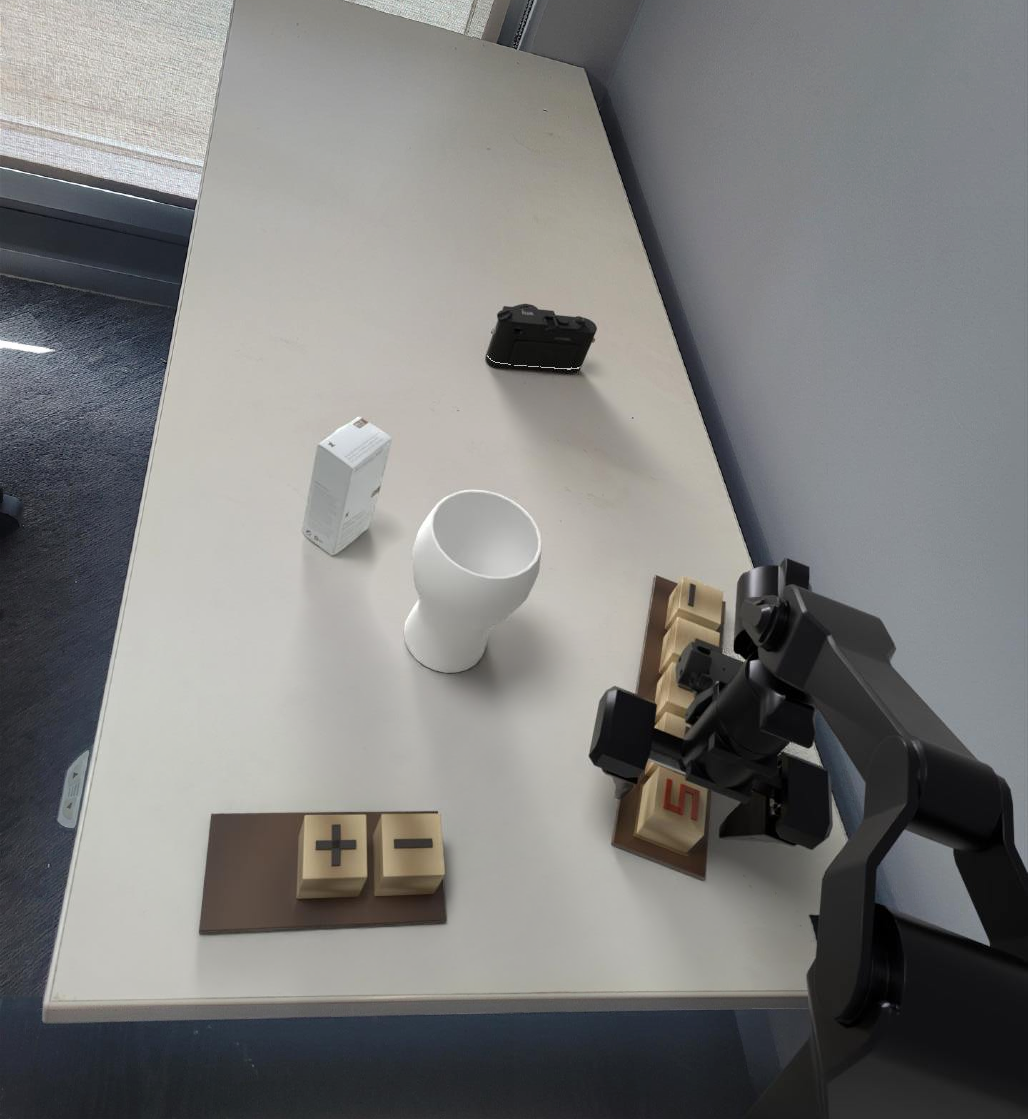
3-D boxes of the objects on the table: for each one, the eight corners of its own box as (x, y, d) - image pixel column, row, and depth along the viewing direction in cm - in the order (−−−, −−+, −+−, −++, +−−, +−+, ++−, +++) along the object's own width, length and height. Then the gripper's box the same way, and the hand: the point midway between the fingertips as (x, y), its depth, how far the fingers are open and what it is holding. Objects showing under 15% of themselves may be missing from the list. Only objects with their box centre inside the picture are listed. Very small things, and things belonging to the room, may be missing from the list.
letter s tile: (690, 804, 78) (709, 784, 75) (686, 853, 74) (705, 833, 72) (642, 785, 78) (659, 764, 75) (636, 834, 74) (653, 813, 72)
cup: (462, 576, 90) (503, 471, 80) (521, 662, 84) (573, 561, 74) (367, 610, 83) (399, 502, 74) (424, 705, 78) (466, 602, 68)
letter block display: (702, 880, 74) (725, 858, 71) (610, 845, 74) (630, 821, 71) (723, 605, 97) (741, 580, 94) (653, 577, 97) (669, 551, 94)
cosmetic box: (333, 558, 87) (354, 471, 79) (297, 532, 88) (314, 444, 80) (373, 524, 91) (396, 438, 83) (339, 499, 92) (359, 413, 84)
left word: (436, 813, 72) (449, 788, 69) (444, 922, 66) (459, 900, 63) (210, 816, 67) (214, 788, 64) (198, 934, 61) (202, 909, 58)
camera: (572, 343, 124) (591, 296, 119) (586, 378, 119) (607, 330, 114) (472, 334, 119) (488, 284, 114) (483, 370, 114) (500, 320, 109)
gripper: (867, 674, 71) (775, 768, 81) (646, 588, 71) (581, 692, 81) (877, 803, 63) (773, 890, 73) (626, 705, 63) (556, 806, 73)
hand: (669, 813), depth 75 cm, fingers open, 9 cm apart
